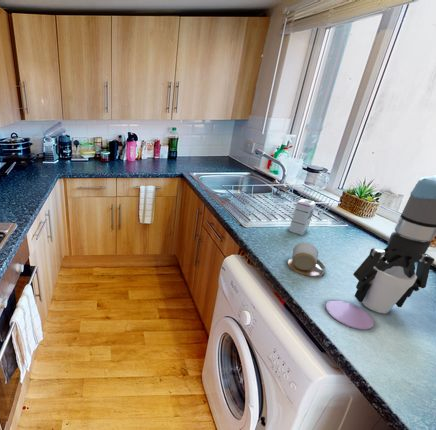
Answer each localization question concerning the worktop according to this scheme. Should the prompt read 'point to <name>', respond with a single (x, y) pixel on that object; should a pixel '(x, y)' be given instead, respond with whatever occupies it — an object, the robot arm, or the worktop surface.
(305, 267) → the ceramic mug
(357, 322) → the lilac coaster
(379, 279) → the foam cup
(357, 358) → the worktop surface
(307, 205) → the syrup box
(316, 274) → the cork coaster
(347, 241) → the worktop surface
